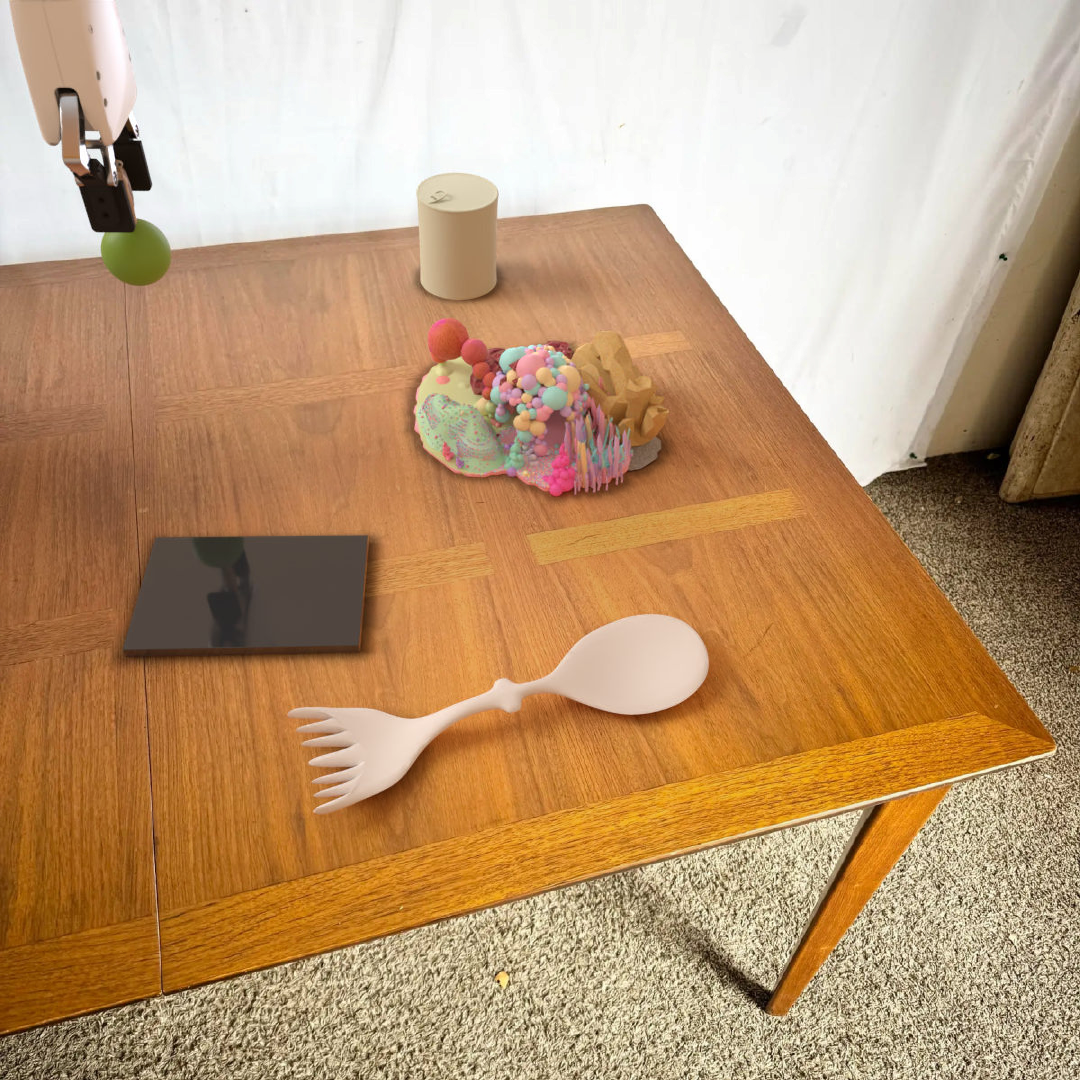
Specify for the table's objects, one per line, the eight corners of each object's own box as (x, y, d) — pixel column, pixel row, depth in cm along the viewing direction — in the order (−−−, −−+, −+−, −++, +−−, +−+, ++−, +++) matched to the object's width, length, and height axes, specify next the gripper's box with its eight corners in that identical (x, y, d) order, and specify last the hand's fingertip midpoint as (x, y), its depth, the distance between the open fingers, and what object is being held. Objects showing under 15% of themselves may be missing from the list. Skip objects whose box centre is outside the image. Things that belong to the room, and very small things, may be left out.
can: (404, 279, 115) (398, 183, 106) (463, 254, 119) (463, 160, 111) (453, 313, 110) (451, 215, 102) (513, 286, 115) (516, 191, 106)
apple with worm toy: (118, 309, 79) (74, 168, 70) (106, 271, 83) (63, 132, 74) (185, 297, 81) (151, 157, 72) (170, 259, 85) (137, 123, 76)
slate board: (127, 661, 75) (122, 649, 74) (159, 548, 83) (155, 536, 82) (360, 656, 76) (358, 645, 75) (369, 546, 85) (368, 534, 84)
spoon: (290, 731, 71) (284, 704, 69) (670, 615, 81) (676, 588, 78) (319, 837, 66) (313, 812, 63) (724, 699, 75) (732, 673, 73)
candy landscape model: (612, 339, 108) (621, 266, 101) (698, 477, 93) (715, 402, 86) (393, 372, 102) (387, 296, 95) (446, 525, 87) (444, 448, 80)
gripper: (29, -84, 69) (99, 160, 82) (-50, -3, 58) (46, 266, 71) (137, -80, 70) (189, 161, 83) (80, 1, 58) (152, 266, 71)
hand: (123, 207), depth 77 cm, fingers closed on apple with worm toy, 6 cm apart
